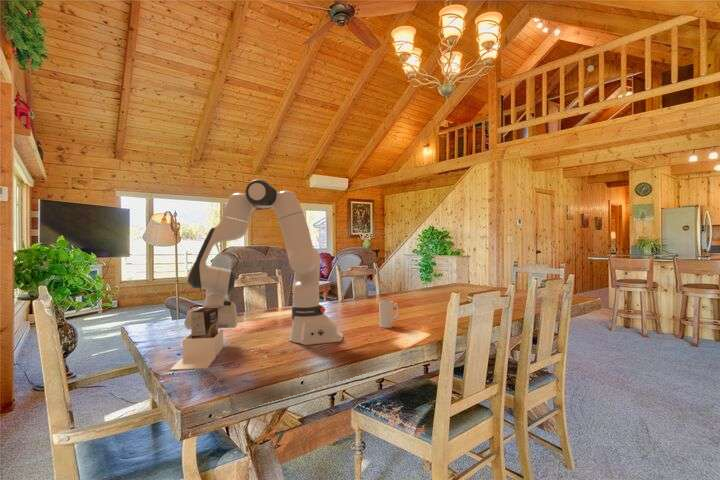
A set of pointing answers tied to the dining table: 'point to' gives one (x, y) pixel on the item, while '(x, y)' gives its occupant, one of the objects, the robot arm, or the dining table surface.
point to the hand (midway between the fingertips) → (208, 336)
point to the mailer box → (199, 352)
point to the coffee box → (204, 323)
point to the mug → (387, 313)
